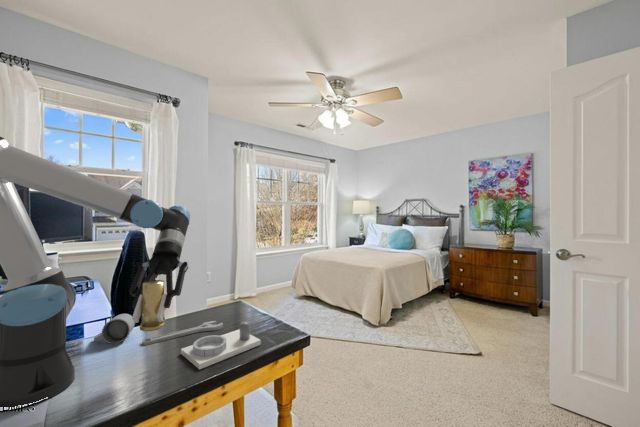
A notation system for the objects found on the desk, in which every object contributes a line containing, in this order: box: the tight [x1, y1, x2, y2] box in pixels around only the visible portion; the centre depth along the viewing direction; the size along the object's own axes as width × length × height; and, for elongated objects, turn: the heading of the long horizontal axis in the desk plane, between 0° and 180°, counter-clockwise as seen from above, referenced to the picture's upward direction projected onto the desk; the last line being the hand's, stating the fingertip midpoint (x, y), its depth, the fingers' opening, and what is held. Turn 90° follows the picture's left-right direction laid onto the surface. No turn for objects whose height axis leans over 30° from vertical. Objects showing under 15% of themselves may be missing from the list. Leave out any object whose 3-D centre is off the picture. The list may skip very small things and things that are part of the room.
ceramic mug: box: [93, 313, 136, 345], centre depth 94 cm, size 11×8×8 cm
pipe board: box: [180, 320, 262, 370], centre depth 88 cm, size 20×12×6 cm, turn 138°
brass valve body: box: [139, 279, 166, 332], centre depth 77 cm, size 6×6×12 cm
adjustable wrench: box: [141, 320, 224, 346], centre depth 99 cm, size 25×6×2 cm, turn 124°
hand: (147, 319), depth 73 cm, fingers closed on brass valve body, 5 cm apart
